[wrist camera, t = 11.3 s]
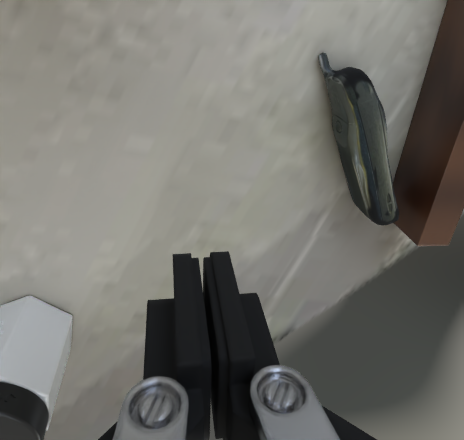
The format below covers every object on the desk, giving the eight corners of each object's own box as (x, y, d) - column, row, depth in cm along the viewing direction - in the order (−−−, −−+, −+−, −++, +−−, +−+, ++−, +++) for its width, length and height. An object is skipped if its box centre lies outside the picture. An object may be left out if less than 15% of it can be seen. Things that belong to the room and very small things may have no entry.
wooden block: (474, -89, 27) (547, -112, 22) (511, -84, 27) (591, -105, 22) (383, 213, 38) (417, 246, 33) (411, 213, 39) (448, 245, 34)
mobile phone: (408, 221, 33) (375, 49, 25) (376, 235, 33) (332, 69, 26) (380, 195, 37) (344, 41, 30) (351, 208, 38) (308, 58, 30)
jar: (51, 284, 37) (5, 395, 26) (91, 340, 41) (66, 455, 30) (-37, 314, 37) (-116, 435, 26) (12, 367, 41) (-40, 490, 31)
